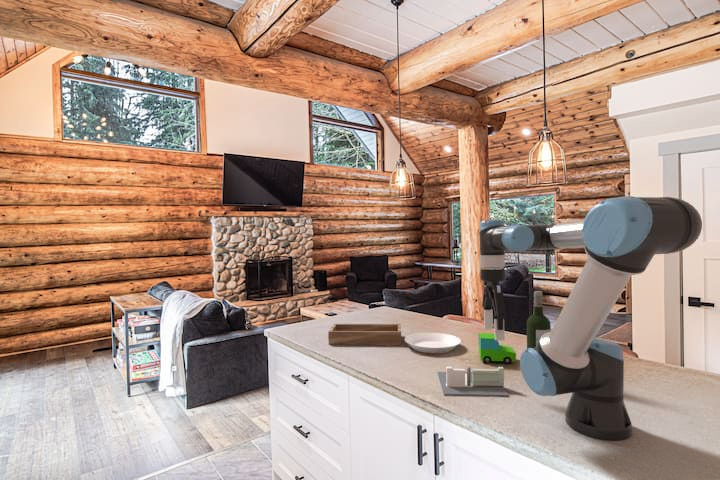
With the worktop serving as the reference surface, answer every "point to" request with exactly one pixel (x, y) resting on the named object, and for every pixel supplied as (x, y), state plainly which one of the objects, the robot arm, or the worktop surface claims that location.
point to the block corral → (365, 334)
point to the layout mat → (470, 388)
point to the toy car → (494, 350)
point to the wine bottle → (537, 322)
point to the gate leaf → (488, 377)
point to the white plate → (432, 342)
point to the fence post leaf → (457, 376)
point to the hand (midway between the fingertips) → (493, 334)
